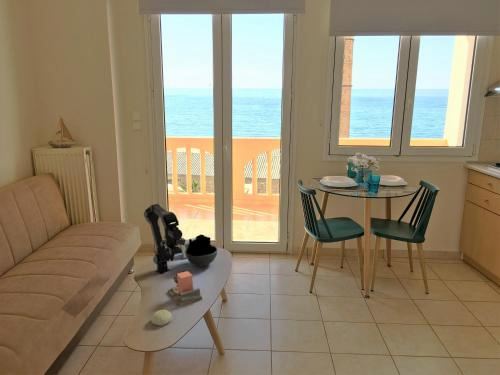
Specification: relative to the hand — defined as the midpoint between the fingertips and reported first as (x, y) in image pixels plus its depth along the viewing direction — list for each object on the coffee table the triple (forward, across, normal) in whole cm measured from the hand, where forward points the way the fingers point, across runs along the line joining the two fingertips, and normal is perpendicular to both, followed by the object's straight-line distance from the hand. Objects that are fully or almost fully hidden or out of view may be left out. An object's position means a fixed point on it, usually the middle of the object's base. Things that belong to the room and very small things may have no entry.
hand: (172, 260), depth 217 cm
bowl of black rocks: (+12, +9, -22) cm, 27 cm away
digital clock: (+12, +28, -23) cm, 38 cm away
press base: (+12, -20, +1) cm, 24 cm away
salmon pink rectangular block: (+10, -22, +1) cm, 24 cm away
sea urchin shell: (+12, -37, +20) cm, 44 cm away
